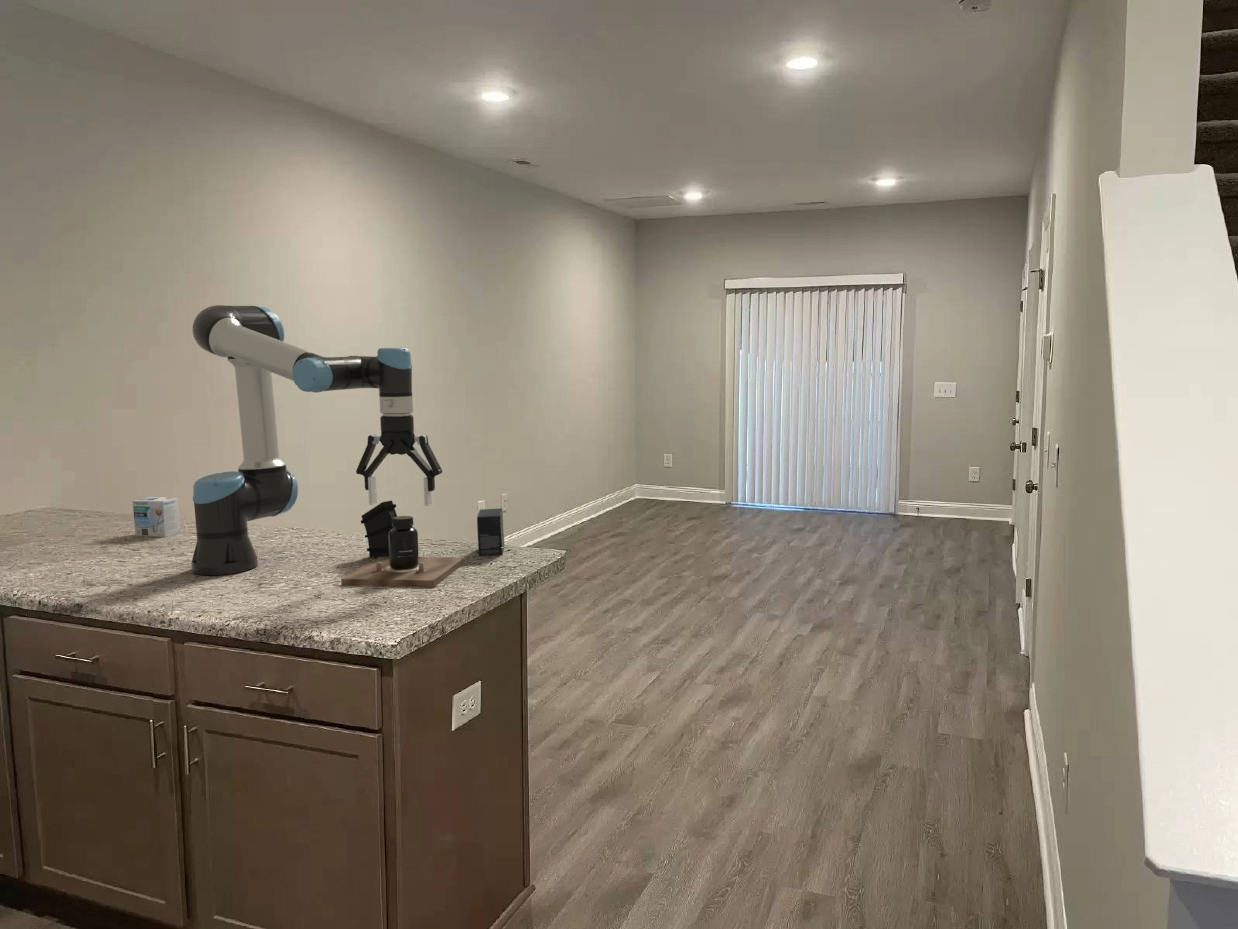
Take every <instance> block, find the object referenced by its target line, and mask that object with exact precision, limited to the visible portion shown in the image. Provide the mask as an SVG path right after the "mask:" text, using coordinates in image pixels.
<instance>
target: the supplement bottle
mask: <svg viewBox="0 0 1238 929" xmlns="http://www.w3.org/2000/svg"><path fill="white" fill-rule="evenodd" d="M413 525H414V517H413V516H411V515H397V517H393V518H392V526H393V528H392V529H391V530H390V531H389V563H390V567H391V568H392V569H396V570H408V569H413V568H416V567H417V566H418V565H419V557H420V556H419V531H418V529H416V528H415V527H413Z"/></svg>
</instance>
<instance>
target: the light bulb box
mask: <svg viewBox="0 0 1238 929" xmlns="http://www.w3.org/2000/svg"><path fill="white" fill-rule="evenodd" d="M132 508H133V510H132V511H133V518H134V519H133V520H134V521H133V522H134V532H135V536H136V537H153V538H154V537H157V538H166V537H170V536H173V535H178V534H180V533H181V524H180V522H181V521H180V512H179V511H180V510H179V498H178V497H169V496H168V497H165V496H163V497H161V496H160V497H159V496H146V497H143V498H138V499H134V500H132Z"/></svg>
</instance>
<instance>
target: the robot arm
mask: <svg viewBox="0 0 1238 929" xmlns="http://www.w3.org/2000/svg"><path fill="white" fill-rule="evenodd" d="M192 335H193V338H194V340H195V342H196V344H197V345H198V346H199V347H200V348H201V349H203V350H204V351H206V352H208V353H210V354H213V355H215V356H218V357H221V358H227V361H228V362H229V363H230V364H231V365H232V366H233V367H234V371H235V372H234V374H235V384H236V393H237V403H238V404H237V405H238V412H239V414H238V415H239V423H240V424H239V425H240V433H241V444H242V447H241V448H242V455H243V456H242V457H243V461H242V462H241V463H240V465H239V466H238V471H233V470H232V471H223V472H217V473H211V474H209V475H208V474H207V475H205V476H202V477H200V478H199V479H197V480H196V481H195V482H194V484H193V487H192V488H193V489H192V490H193V492H192V494H193V496H192V501H193V506H194V516H195V517H194V518H195V519H194V520H195V530H196V543H195V546H194V551H193V554H192V560H191V565H190V566H191V573H193V574H195V575H200V576H220V575H222V576H223V575H230V574H237V573H240V572H241V573H242V572H245V571H249V570H252V569H254V568H256V567H257V566H258V565H259V562H258V560H259V559H258V555H257V552H256V550H255V549H254V546H253V544H252V541H251V539H250V536H249V530H248V522H251V521H254V520H259V519H263V518H269V517H272V518H273V517H276V516H278V515H281V514H284V513H287V512H288V511H290V510H291V509H292V507H293V506H294V505H295V504H296V501H297V499H298V496H299V485H298V484H299V483H298V480H297V478H296V477H294V476H295V475H294V473H293V472H291V471H290V470H288V469H287V463H286V462H285V461H284V460H282V459H281V458H280V453H279V442H278V441H279V440H278V429H277V420H276V409H275V401H274V400H275V398H274V387H273V377H272V373H273V374H275V375H278V376H280V377H282V378H285V379H288V380H290V381H293V383H294V385H295V386H297V388H298V389H299V390H300V391H303V392H306V393H321V392H330V391H331V392H332V391H343V390H344V391H345V390H356V389H357V390H358V389H378V393H379V394H378V395H379V412H380V414H382V415H380V417H379V420H380V422H379V423H380V431H381V433H380V435H376V434H370V435H368V436H367V443H366V444H367V445H366V447H365V449H364V451H363V453H362V456H361V458H360V460H359V463H358V466H357V468H356V470H355V473H356V474H357V475H361V476H363V478H364V489H365V490H366V491H368V505H370V506H371V505H376V503H378V499H377V478H376V477H377V476H376V475H374V472H376V470H377V469H378V467H379V466H380V465H381V464H382V462H383V461H384V460H385V458H386V457H387V456H388V455H401V456H402V455H407V456H408V457H410V458H411V460H412V461H413V462H414V463H415V464H416V465H417V467H418V468H419V469H420V470H421V472H422V473H423V474H424V475H425V476H426V477H423V493H424V494H423V495H424V497H423V499H424V506H425V507H429V506H430V505H432V492H433V491H435V489H436V485H435V484H436V482H435V478H436V476H438V475H439V476H440V475H441V474H442V473H443V469H442V467H441V466H440V463H439V462H438V459H437V458H436V455H435V454H434V452H433V450H432V448H431V446H430V443H429V438H428V435H427V434H422V435H419V436H418V435H417V436H416V435H415V427H414V426H415V424H414V423H415V422H414V416H413V415H412V414H413V413H414V402H413V401H414V400H413V397H414V396H413V372H412V371H413V365H412V357H411V356H412V355H411V352H410V350H409V348H406V347H380V348H378V349H377V355H376V356H372V355H371V356H369V355H368V356H367V355H364V356H363V355H360V356H359V355H348V356H330V357H327V356H321V355H319V354H316V353H313V352H311V351H308V350H306V349H303V348H301V347H298V346H295V345H293V344H290V343H288V342H285V341H284V340H285V330H284V325H283V323H282V321H281V319H280V318H279V316H278V315H277V314H275V312H274V310H271V309H270V308H268V307H263V306H257V305H225V304H224V305H221V304H220V305H219V304H217V305H211V306H208V307H206V308H204V309H202V310H201V311H200V312H199V313H197V315H196V316H195V317H194V320H193V323H192ZM379 442H380V443H381V446H382V448H381V449H380V451H379V452H378V454H377V455H376V457H375V458H374V459H373V460H372V462H371V463H370V460H371V458H372V456H373V454H374V451H375V449H376V447H377V445H379ZM415 443H417V445H419V446H420V448H421V451H422V453H423V455H424V456H425V459H426V460H427V462H426V460H425V459H424V458H423V457H422V456H421V455H420V454H419V452H418V450H417V448H415V446H414V445H415ZM369 463H370V464H369Z"/></svg>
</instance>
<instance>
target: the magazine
mask: <svg viewBox="0 0 1238 929" xmlns="http://www.w3.org/2000/svg"><path fill="white" fill-rule="evenodd" d="M396 508H397V504H396V503H394V501H393V500H388V501H382V502H380V503H378V504H377V505H375V506H374V507H372V508H371V509H369V510H368V511H366V512H365V513H364V514H362V515H361V520H360V524H361V525H362V524H363V526H364V529H365V532H366V534H365V535H364V538H365V539H366V538H367V543H368V548H366V551H367V552H368V554H369V555H368V556H369V557H370V558H374V559H376V558H378V557H389V531H390V530H391V529H392V528H393V526H392V518H393V517H397V516H398V515H397V514H398V513H397V512H396Z"/></svg>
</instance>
